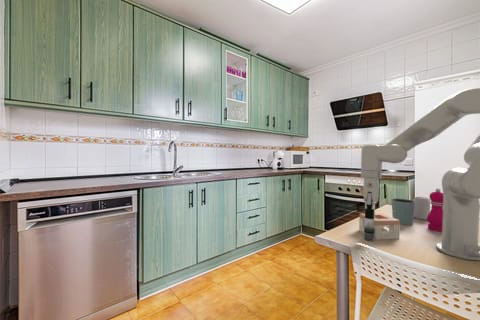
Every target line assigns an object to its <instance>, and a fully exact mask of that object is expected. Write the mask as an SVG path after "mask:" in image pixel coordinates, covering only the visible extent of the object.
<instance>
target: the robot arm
mask: <svg viewBox="0 0 480 320" xmlns="http://www.w3.org/2000/svg"><path fill="white" fill-rule="evenodd" d="M475 114H480V87H476V88H468V89H465V90H464V89H463V90H461V91H458V92H456V93H455V94H453V95H450V96H448V97H447V98H446V99H444V100H443V101H441V102H440V103H439V104H438V105H436V106H435V107H434V108H432V109H431V110H430V111H428V112H427V113H426V114H425V115H424V116H422V117H420V118H419V119H418V120H416V122H414V123H412V124H411V125H410V126H409V127H408V128H406V129H405V130H404V131H402V132H401V133H400V134H399V135H397V136H395V137H394V138H393V139H392V140H390V141H389V142H388V143H386V144H384V145H378V144H377V145H375V144H373V145H372V144H370V145H368V144H367V145H363V146H362V147H361V153H360V154H361V159H360V161H361V163H360V178H361V179H363V201H364V203H365V202H366V209H365V208H364V214H365V218H367V219H374V210H373V207H374V203H375V204H378V202H379V190H380V187H379V186H380V185H379V181H380V180H381V179H382V172H383V171H382V170H383V163H389V164H401V163H402V162H404V161H405V160H406V159H407V158H408V152H409V151H411V150H412V149H414V148H415V147H417V146H418V145H421V144H422V143H425V142H428V141H431V140H433V139H434V138H436V137H437V136H439V135H441V134H442V133H443V132H445V131H446V130H447V129H448V128H450V127H451V126H452V125H454V124H456V123H457V122H458V121H460V120H461V119H462V118H464V117H465V116H469V115H475ZM463 159H464V162H465V163H466V165H468V168H465V167H456V168H452V169H451V168H450V169H449V170H448V171H446V172H445V173H444V174H443V176H442V179H441V187H442V193H443V221H442V232H441V242H437V243H436V244H435V248H436V249H437V250H438V251H439V252H442V253H443V254H446V255H449V256H452V257H453V258H454V257H455V258H458V259H464V260H469V261H480V244H479V232H480V230H479V229H480V133H479V134H478V135H477V137H476V138H475V139H474V141H473V142H472V143H471V144H470V146H469V147H468V148H467V149H466V150H465V152H464V154H463Z"/></svg>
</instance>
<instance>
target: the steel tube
mask: <svg viewBox="0 0 480 320" xmlns="http://www.w3.org/2000/svg"><path fill="white" fill-rule="evenodd" d="M365 209H366V202H365V201H364V210H365ZM373 210H374V219H367V218H365V226H364V233H363V240H365V241H367V242H374V241H375V239H374V231H375V228H374V222H375V213H376V202H374V207H373Z"/></svg>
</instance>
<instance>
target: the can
mask: <svg viewBox="0 0 480 320" xmlns="http://www.w3.org/2000/svg"><path fill="white" fill-rule="evenodd" d="M412 201H415V207H414V214H413V215H414V217H413V219H417V220H421V221H427V216H428V214H429V213H430V211H431V204H430V203H431V199H430V197H427V196H426V197H425V196H414V198H413V199H412Z"/></svg>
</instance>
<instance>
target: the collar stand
mask: <svg viewBox="0 0 480 320" xmlns="http://www.w3.org/2000/svg"><path fill="white" fill-rule="evenodd" d="M358 220H359V227H358V230H359V231H360V232H361V233H363V234H364V226H365V213H359V219H358ZM387 226H388V227H387ZM400 227H401V224H400V220H398V219H395V218H393V216H390V215H388V214H384V213H382V212H375V222H374V228H375V231H374V240H392V239H393V240H394V239H396V240H398V239H400V231H401V230H400V229H401V228H400Z"/></svg>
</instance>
